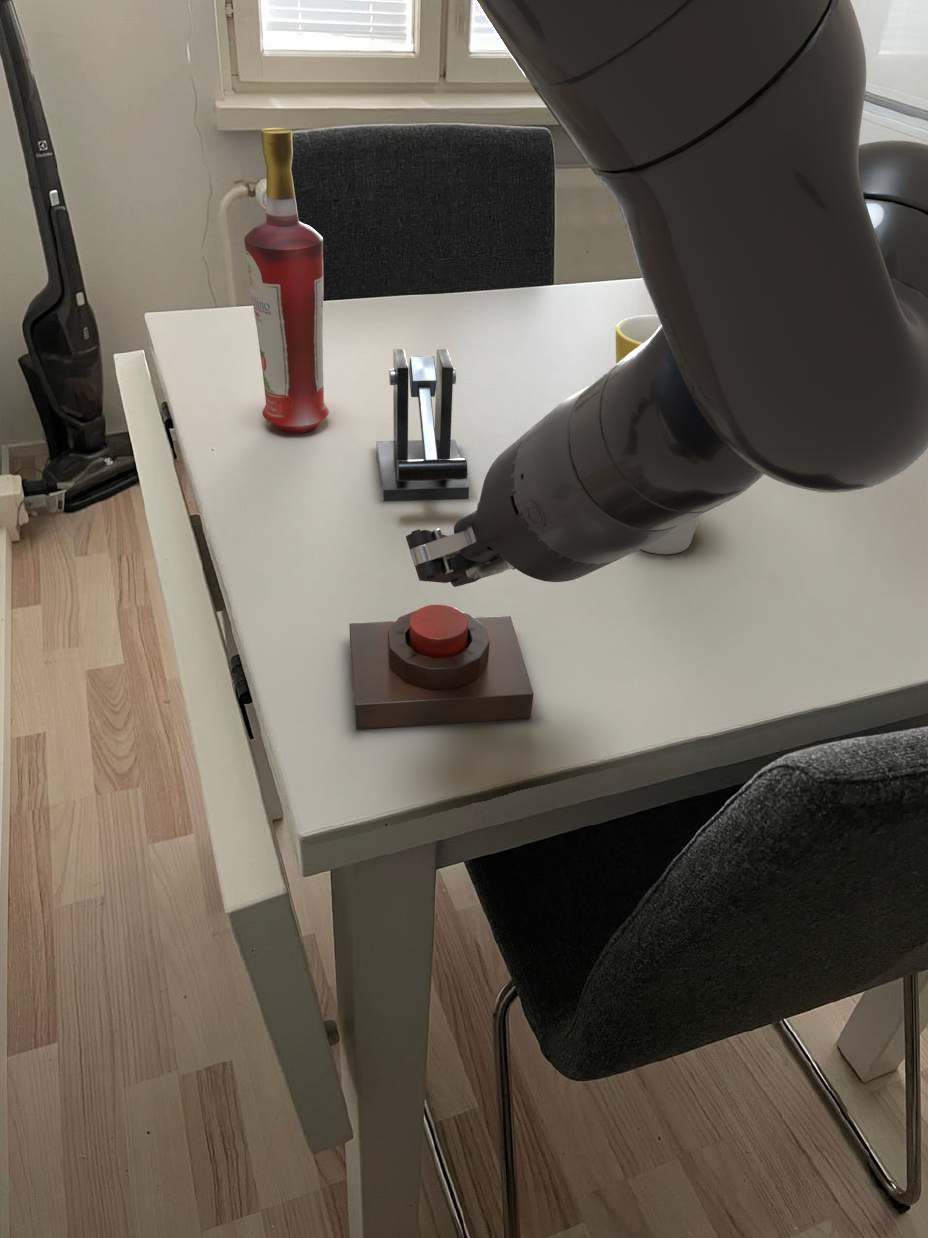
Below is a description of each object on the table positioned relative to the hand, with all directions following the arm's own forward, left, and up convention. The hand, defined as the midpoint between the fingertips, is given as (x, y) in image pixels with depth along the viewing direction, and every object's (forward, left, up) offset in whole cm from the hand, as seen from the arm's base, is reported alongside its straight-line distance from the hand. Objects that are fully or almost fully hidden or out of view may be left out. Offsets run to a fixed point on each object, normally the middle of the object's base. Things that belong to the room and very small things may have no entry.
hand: (457, 569), depth 60 cm
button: (-1, +2, -7) cm, 8 cm away
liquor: (-11, +45, -11) cm, 48 cm away
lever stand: (+1, +33, -11) cm, 35 cm away
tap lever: (+1, +30, -4) cm, 30 cm away
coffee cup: (+21, +20, -11) cm, 31 cm away
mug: (+26, +42, -11) cm, 51 cm away
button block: (-1, +2, -11) cm, 11 cm away
